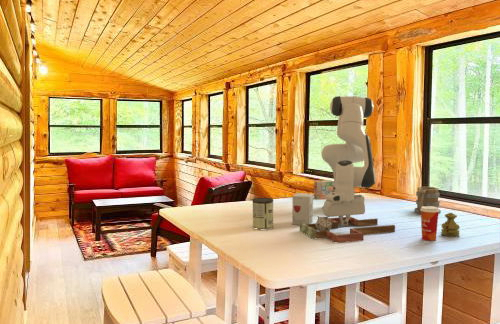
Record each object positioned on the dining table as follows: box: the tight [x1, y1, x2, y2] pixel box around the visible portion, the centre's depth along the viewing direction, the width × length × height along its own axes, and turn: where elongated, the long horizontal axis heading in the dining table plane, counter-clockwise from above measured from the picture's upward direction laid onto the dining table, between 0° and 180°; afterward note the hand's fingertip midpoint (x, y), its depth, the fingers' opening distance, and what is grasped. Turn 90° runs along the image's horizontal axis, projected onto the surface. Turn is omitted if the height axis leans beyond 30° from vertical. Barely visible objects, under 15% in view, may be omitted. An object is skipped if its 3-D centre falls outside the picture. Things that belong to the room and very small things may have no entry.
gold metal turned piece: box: [440, 212, 461, 238], centre depth 191 cm, size 7×7×10 cm
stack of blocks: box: [313, 179, 334, 201], centre depth 288 cm, size 21×6×12 cm, turn 99°
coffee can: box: [251, 197, 274, 230], centre depth 207 cm, size 10×10×14 cm
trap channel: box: [299, 216, 396, 243], centre depth 199 cm, size 32×42×4 cm
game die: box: [314, 215, 334, 232], centre depth 196 cm, size 9×8×10 cm
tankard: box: [414, 186, 441, 215], centre depth 238 cm, size 20×13×15 cm, turn 134°
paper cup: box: [420, 206, 440, 242], centre depth 184 cm, size 8×8×14 cm
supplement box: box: [291, 192, 314, 226], centre depth 215 cm, size 9×9×15 cm
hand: (344, 224), depth 199 cm, fingers closed
